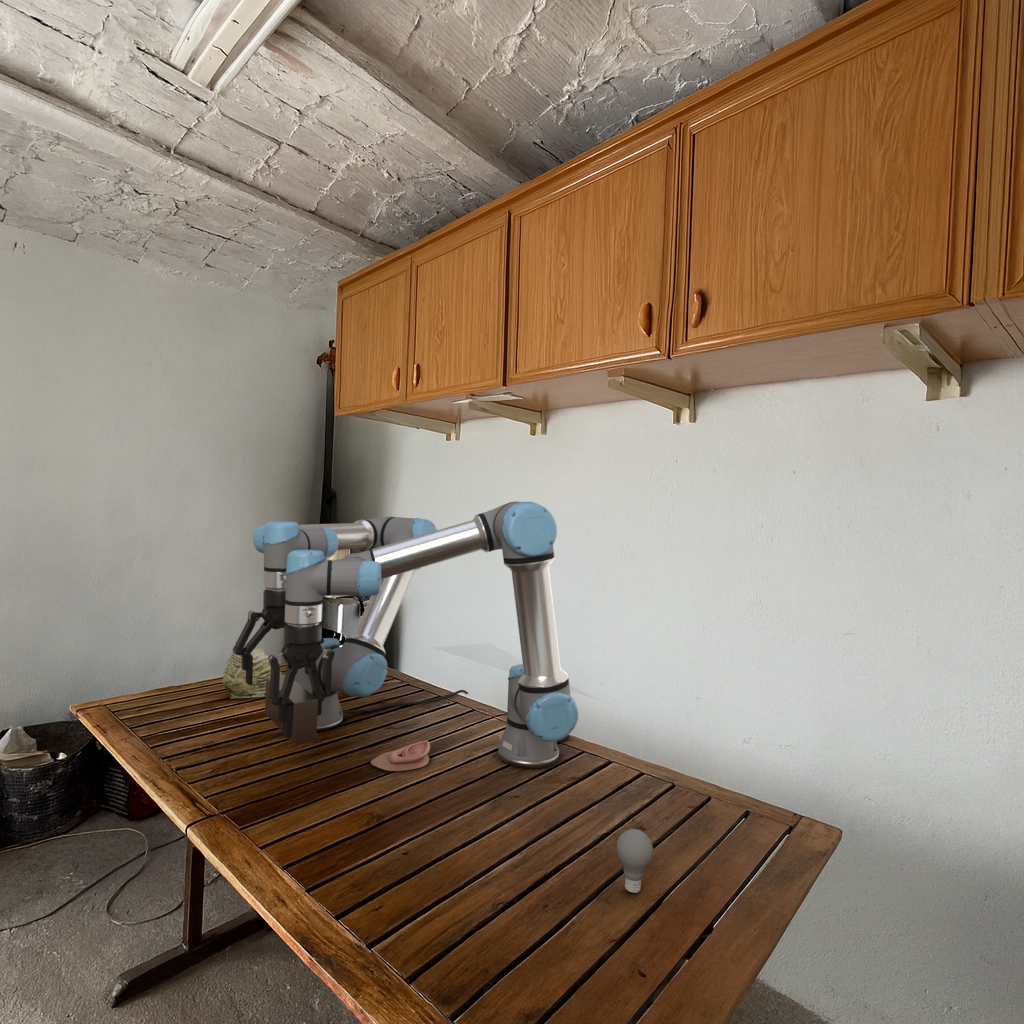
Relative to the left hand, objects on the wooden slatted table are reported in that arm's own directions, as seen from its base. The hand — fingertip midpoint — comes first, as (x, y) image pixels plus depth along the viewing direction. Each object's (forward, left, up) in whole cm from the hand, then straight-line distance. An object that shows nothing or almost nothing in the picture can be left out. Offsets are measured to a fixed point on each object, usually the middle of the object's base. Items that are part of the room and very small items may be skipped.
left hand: (279, 678), depth 148 cm
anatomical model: (-21, +19, -20) cm, 35 cm away
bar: (+3, +10, -8) cm, 13 cm away
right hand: (+5, +17, -7) cm, 19 cm away
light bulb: (-14, +86, -20) cm, 89 cm away
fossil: (-23, -51, -20) cm, 60 cm away
